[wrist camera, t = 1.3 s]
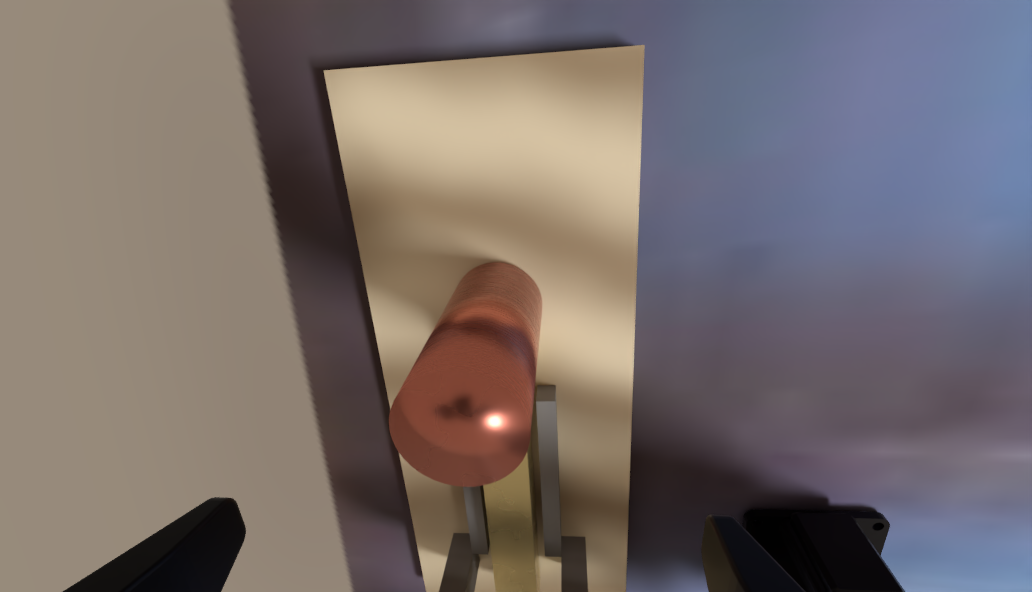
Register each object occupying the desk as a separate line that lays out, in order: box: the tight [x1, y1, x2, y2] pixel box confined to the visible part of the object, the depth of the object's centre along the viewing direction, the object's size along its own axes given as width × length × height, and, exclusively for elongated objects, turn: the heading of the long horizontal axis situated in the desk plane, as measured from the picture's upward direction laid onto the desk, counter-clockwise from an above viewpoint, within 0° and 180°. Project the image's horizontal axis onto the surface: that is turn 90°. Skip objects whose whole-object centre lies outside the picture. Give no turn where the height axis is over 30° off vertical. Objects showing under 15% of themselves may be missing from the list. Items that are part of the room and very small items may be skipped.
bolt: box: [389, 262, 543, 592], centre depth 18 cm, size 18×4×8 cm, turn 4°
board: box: [323, 45, 644, 592], centre depth 19 cm, size 27×11×7 cm, turn 4°
